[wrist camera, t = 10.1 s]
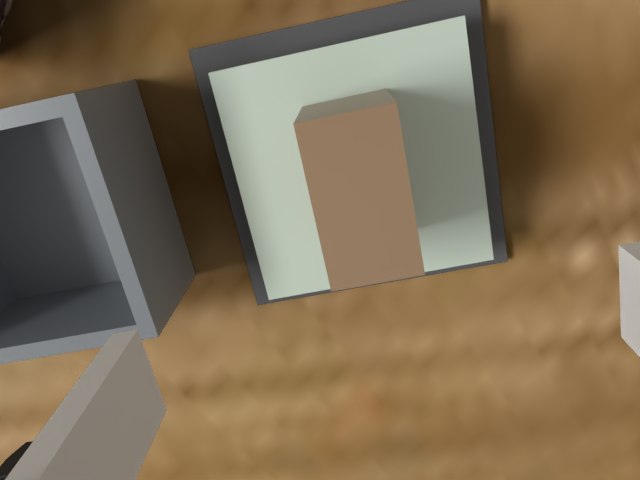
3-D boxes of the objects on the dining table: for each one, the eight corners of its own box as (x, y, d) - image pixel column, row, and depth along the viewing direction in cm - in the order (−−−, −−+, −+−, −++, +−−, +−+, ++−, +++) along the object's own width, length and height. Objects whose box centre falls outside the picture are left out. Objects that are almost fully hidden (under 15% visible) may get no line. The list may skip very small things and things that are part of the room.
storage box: (-62, 123, 38) (-177, 148, 29) (135, 79, 36) (74, 92, 28) (17, 307, 42) (-63, 375, 34) (195, 274, 41) (158, 337, 33)
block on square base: (217, 70, 36) (175, 82, 27) (455, 16, 34) (497, 10, 25) (273, 283, 41) (254, 355, 31) (483, 245, 39) (527, 309, 30)
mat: (190, 50, 36) (188, 50, 35) (476, -15, 34) (478, -15, 34) (258, 302, 42) (257, 305, 41) (505, 258, 40) (507, 261, 39)
